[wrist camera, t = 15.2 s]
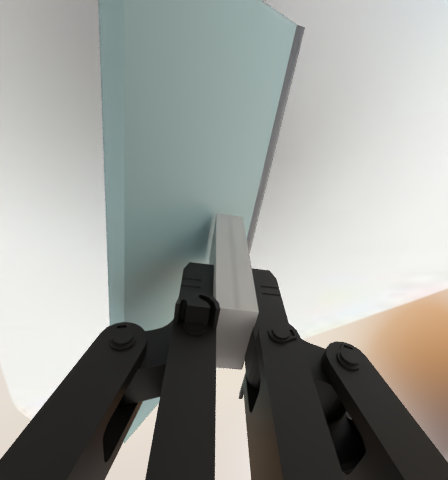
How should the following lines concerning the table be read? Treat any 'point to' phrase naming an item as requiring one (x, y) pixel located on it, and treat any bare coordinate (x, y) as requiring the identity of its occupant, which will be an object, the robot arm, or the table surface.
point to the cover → (184, 138)
